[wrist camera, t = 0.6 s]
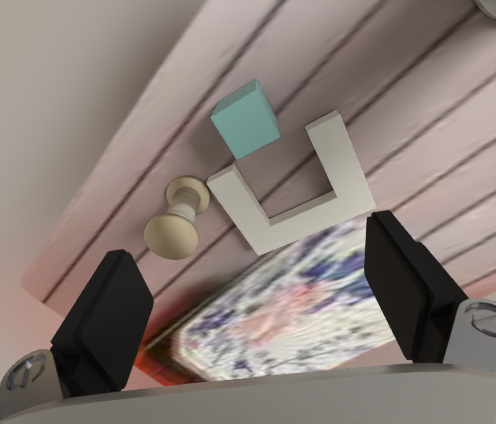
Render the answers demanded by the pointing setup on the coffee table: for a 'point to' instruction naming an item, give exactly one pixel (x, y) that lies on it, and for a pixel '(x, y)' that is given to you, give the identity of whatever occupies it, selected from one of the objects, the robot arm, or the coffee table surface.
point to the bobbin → (178, 219)
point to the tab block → (246, 120)
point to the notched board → (310, 213)
